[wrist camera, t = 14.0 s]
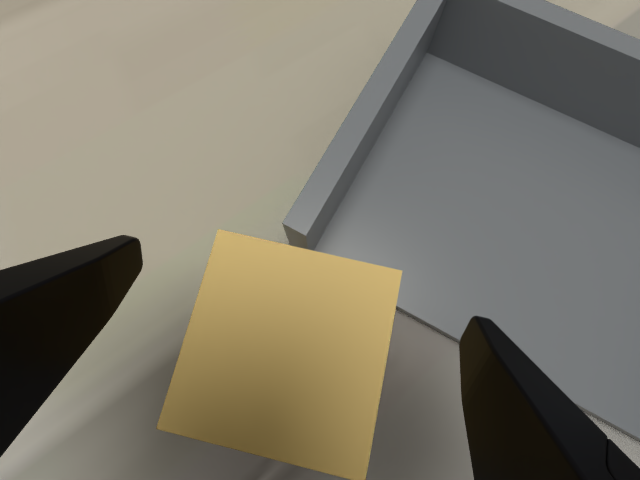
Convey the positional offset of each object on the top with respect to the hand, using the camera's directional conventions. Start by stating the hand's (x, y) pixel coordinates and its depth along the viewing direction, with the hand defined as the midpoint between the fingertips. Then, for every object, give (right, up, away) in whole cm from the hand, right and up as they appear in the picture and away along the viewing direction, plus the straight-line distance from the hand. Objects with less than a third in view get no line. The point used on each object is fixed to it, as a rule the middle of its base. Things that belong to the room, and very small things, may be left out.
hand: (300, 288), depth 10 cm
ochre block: (0, -4, +11) cm, 12 cm away
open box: (+13, +2, +12) cm, 18 cm away
